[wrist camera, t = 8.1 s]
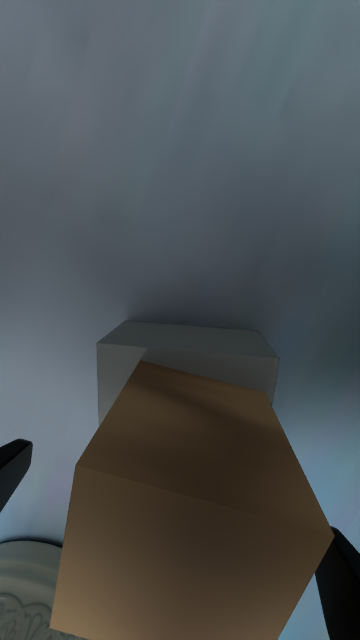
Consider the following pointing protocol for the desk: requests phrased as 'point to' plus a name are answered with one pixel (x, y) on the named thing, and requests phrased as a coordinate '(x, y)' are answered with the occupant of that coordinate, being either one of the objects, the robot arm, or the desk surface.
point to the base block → (184, 356)
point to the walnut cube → (187, 517)
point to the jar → (29, 591)
